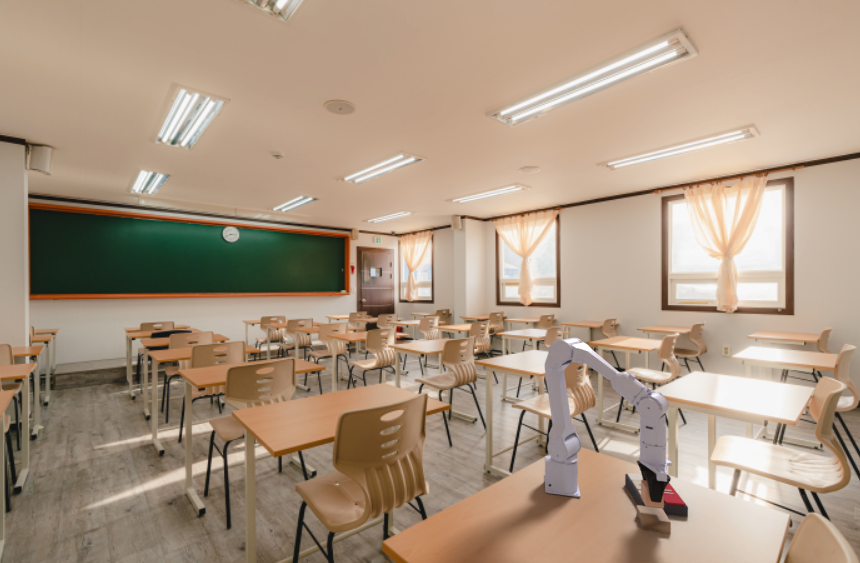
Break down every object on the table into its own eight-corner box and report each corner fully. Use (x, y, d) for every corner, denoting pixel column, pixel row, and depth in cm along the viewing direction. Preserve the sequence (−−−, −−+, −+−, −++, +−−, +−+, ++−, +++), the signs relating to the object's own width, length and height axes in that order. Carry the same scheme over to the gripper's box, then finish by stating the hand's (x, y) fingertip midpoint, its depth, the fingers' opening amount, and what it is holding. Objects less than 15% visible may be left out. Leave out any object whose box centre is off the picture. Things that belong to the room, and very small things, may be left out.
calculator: (642, 500, 102) (624, 470, 117) (642, 516, 102) (624, 484, 117) (688, 504, 100) (664, 474, 115) (688, 520, 100) (664, 488, 115)
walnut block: (643, 530, 95) (643, 518, 95) (636, 516, 101) (636, 505, 101) (670, 534, 94) (670, 522, 94) (662, 520, 99) (662, 508, 99)
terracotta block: (645, 505, 96) (645, 487, 96) (641, 497, 100) (641, 479, 100) (663, 508, 95) (663, 489, 95) (658, 499, 99) (658, 481, 99)
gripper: (681, 455, 89) (682, 515, 89) (661, 433, 103) (661, 484, 103) (647, 452, 91) (648, 510, 91) (632, 430, 105) (632, 481, 105)
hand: (652, 496), depth 97 cm, fingers closed on terracotta block, 4 cm apart
